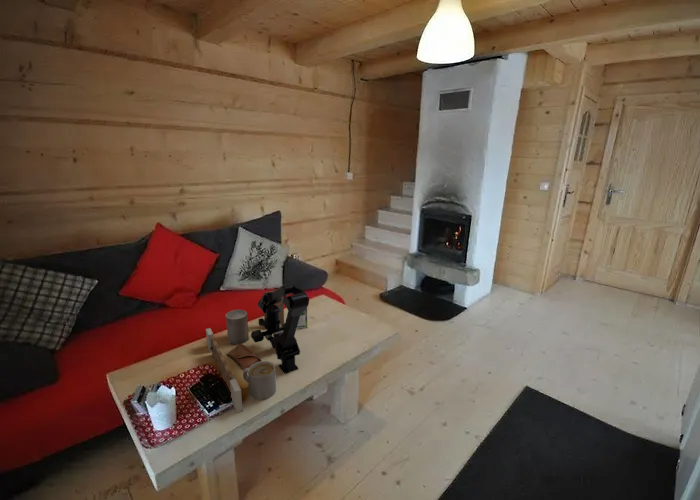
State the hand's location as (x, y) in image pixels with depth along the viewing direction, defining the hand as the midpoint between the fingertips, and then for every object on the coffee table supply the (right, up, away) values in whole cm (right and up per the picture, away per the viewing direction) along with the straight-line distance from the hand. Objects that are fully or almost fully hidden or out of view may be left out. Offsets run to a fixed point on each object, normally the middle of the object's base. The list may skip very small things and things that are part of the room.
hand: (273, 348), depth 159 cm
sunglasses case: (-12, -4, -6) cm, 14 cm away
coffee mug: (0, -9, -25) cm, 26 cm away
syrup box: (+9, +5, +23) cm, 26 cm away
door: (-18, -6, -17) cm, 25 cm away
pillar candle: (-19, +2, +9) cm, 21 cm away
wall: (-18, -6, -16) cm, 25 cm away
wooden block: (-5, +5, +24) cm, 25 cm away
